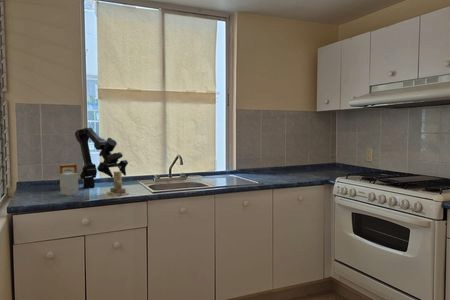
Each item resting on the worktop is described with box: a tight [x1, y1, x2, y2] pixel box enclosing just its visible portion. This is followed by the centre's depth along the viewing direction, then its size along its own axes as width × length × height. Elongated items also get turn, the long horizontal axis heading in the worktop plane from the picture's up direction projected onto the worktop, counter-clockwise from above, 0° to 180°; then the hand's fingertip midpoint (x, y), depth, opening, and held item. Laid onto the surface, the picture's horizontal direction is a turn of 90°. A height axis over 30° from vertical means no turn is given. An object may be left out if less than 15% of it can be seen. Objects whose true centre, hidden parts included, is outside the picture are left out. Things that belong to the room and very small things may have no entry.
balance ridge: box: [106, 186, 130, 197], centre depth 206 cm, size 11×8×4 cm
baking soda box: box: [58, 163, 78, 190], centre depth 222 cm, size 10×6×16 cm
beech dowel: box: [113, 170, 123, 189], centre depth 206 cm, size 4×4×10 cm
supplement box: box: [59, 172, 80, 197], centre depth 204 cm, size 7×7×13 cm
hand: (119, 176), depth 205 cm, fingers open, 9 cm apart
